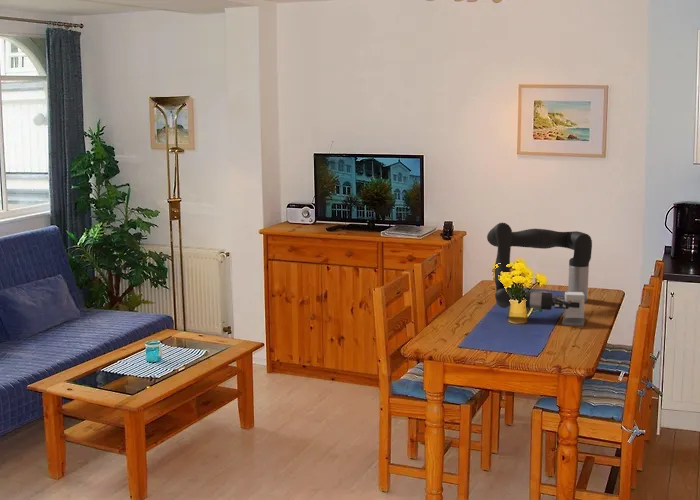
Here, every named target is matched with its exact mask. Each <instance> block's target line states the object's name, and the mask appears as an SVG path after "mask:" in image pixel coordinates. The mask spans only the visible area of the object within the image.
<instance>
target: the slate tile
mask: <svg viewBox="0 0 700 500" xmlns="http://www.w3.org/2000/svg"><path fill="white" fill-rule="evenodd" d="M585 320H586V315H584V318H565V316H564V315H563V318H562V321H561V322H562V323H561V325H562V326H571V327H585Z"/></svg>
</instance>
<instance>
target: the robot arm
mask: <svg viewBox="0 0 700 500" xmlns="http://www.w3.org/2000/svg"><path fill="white" fill-rule="evenodd" d="M486 239H487V242H488V243H489V244H490V245H491V246H493V247H496V248H497V252H496V253H497V254H496V259H495V264H494V282H495V288H496V289H495V294H494V297H495V298H494V299H495V301H496V304H497V305H498V307H500V308H503V309H506V308H509V307H510V306H511V305H510V302H509V300H510V297H509V295H508V294H507V292H506V291H505V288H504V286H503V284H502V283H501V282H500V281H499V280H498V275H499V274H500V272H501V271H503V272H510V273H511V267H510V268H508V267H506V265H507V264H510V265H511V249H512V247H517V248H531V249H552V248H565V249H569V250H573V257H572V258H570V259H569V261H568V285H567V286H568V287H567V292H583V294H584V295H585V300H584V303H586V302H588V295H589V293H588V291H589V272H590V271H589V270H590V269H589V268H590V267H589V266H590V262H591V259H592V249H593V240H592V237H591V235H589V234H587V233H585V232H582V231H578V230H576V231H555V230H551V229H545V228H544V229H543V228H527V229H523V230H519V231H513V230H512V228H511V226H510V225H509V224H508V223H506V222H499V223H497V224H495V226H494V227H492V228H491V229H490V231H488V233H487V235H486ZM498 263H501V264H498ZM496 264H498V266H499V267H498V268H496V266H495V265H496ZM495 268H496V269H495ZM525 292H526V300H527V301H526V308H527V309H534V310H535V309H536V310H548V311H551V310H552V308H553V307H554V309H563V310H564V309H569V308H570V307H572V308H579V306H580V303H576V302H566V300H565V299H564V298H565V295H556V297H553V293H552V292H545V291H544V292H541V291H532V292H531V291H525ZM526 308H525V309H526Z"/></svg>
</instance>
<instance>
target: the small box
mask: <svg viewBox="0 0 700 500" xmlns="http://www.w3.org/2000/svg"><path fill="white" fill-rule="evenodd" d="M564 296H565V298H564V299H565V300H566V302H576V303H580V306H579V308H572V307H570V308H569V309H563V317H564V316H565V318H584V316H585V302H584V300H585V295H584V294H583V292H568V291H565V292H564Z"/></svg>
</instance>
